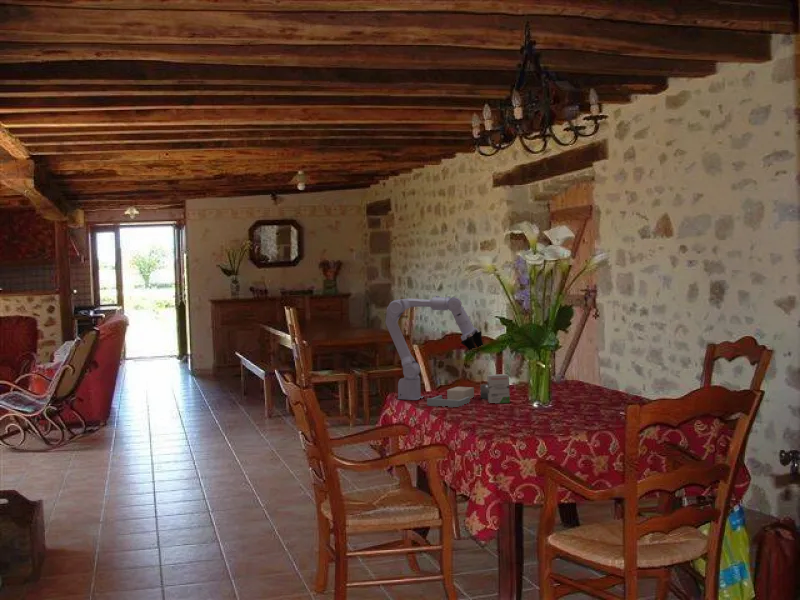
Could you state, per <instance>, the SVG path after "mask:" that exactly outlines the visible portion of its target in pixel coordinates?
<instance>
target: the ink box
mask: <svg viewBox="0 0 800 600" xmlns="http://www.w3.org/2000/svg"><path fill="white" fill-rule="evenodd" d="M487 384H488V400H487V402H488V403H489V404H490V403H495V404H510V403H511V395H510V375H508V374H507V373H504V374H502V373H501V374H487Z"/></svg>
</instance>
